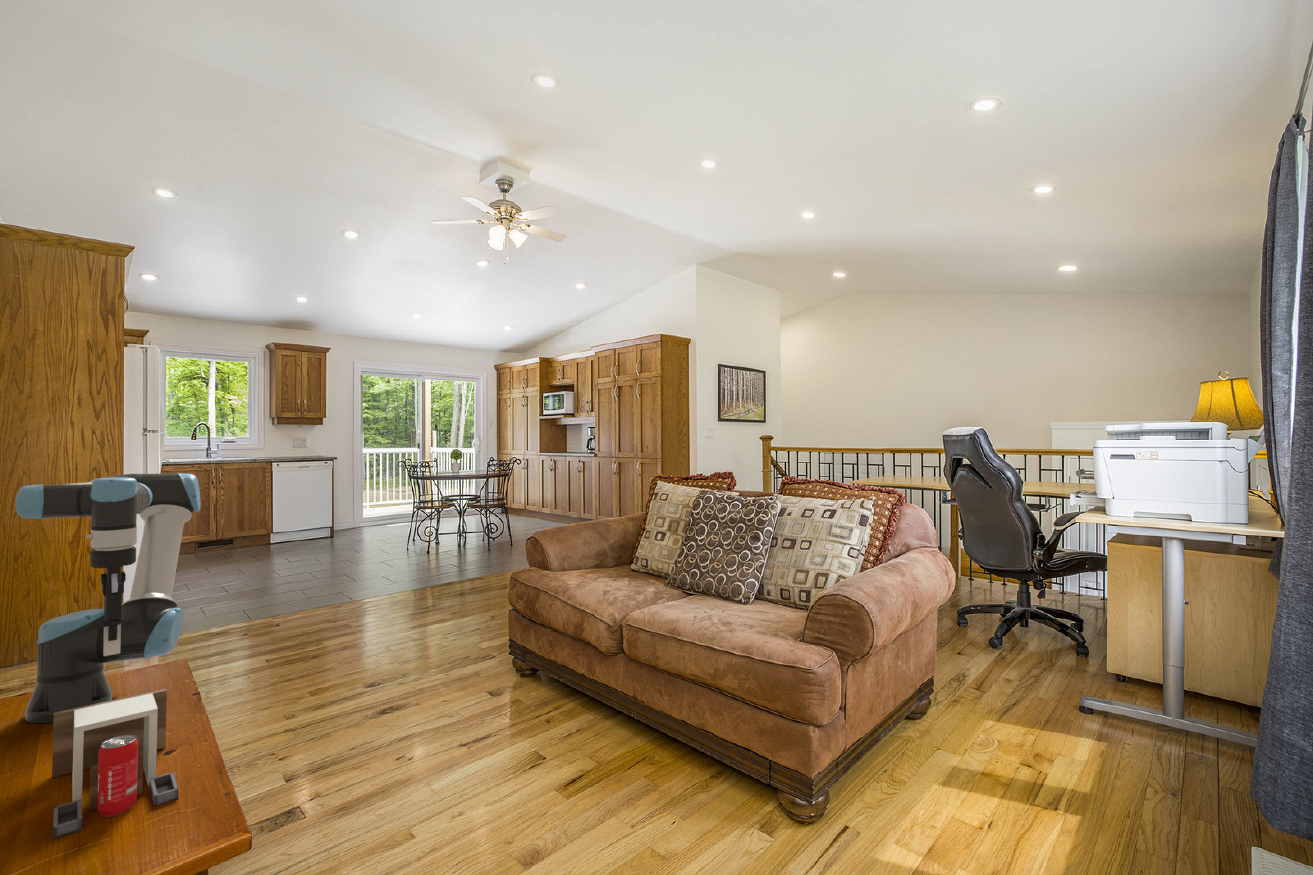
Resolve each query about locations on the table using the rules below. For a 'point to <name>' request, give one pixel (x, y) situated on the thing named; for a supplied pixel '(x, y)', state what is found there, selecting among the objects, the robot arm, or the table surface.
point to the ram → (102, 741)
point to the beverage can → (117, 775)
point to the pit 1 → (67, 818)
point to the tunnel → (113, 715)
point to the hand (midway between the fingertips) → (111, 653)
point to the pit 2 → (163, 789)
